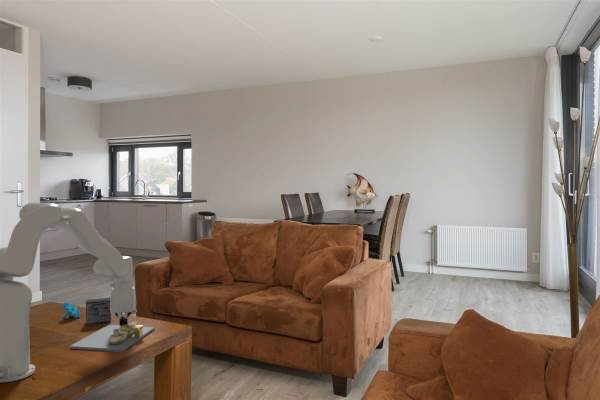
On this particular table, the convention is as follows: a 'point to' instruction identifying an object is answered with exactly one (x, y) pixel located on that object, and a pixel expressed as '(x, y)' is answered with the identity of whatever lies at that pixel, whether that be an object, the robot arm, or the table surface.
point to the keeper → (137, 329)
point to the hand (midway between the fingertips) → (123, 327)
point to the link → (121, 334)
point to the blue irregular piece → (71, 310)
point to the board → (108, 340)
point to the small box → (98, 311)
